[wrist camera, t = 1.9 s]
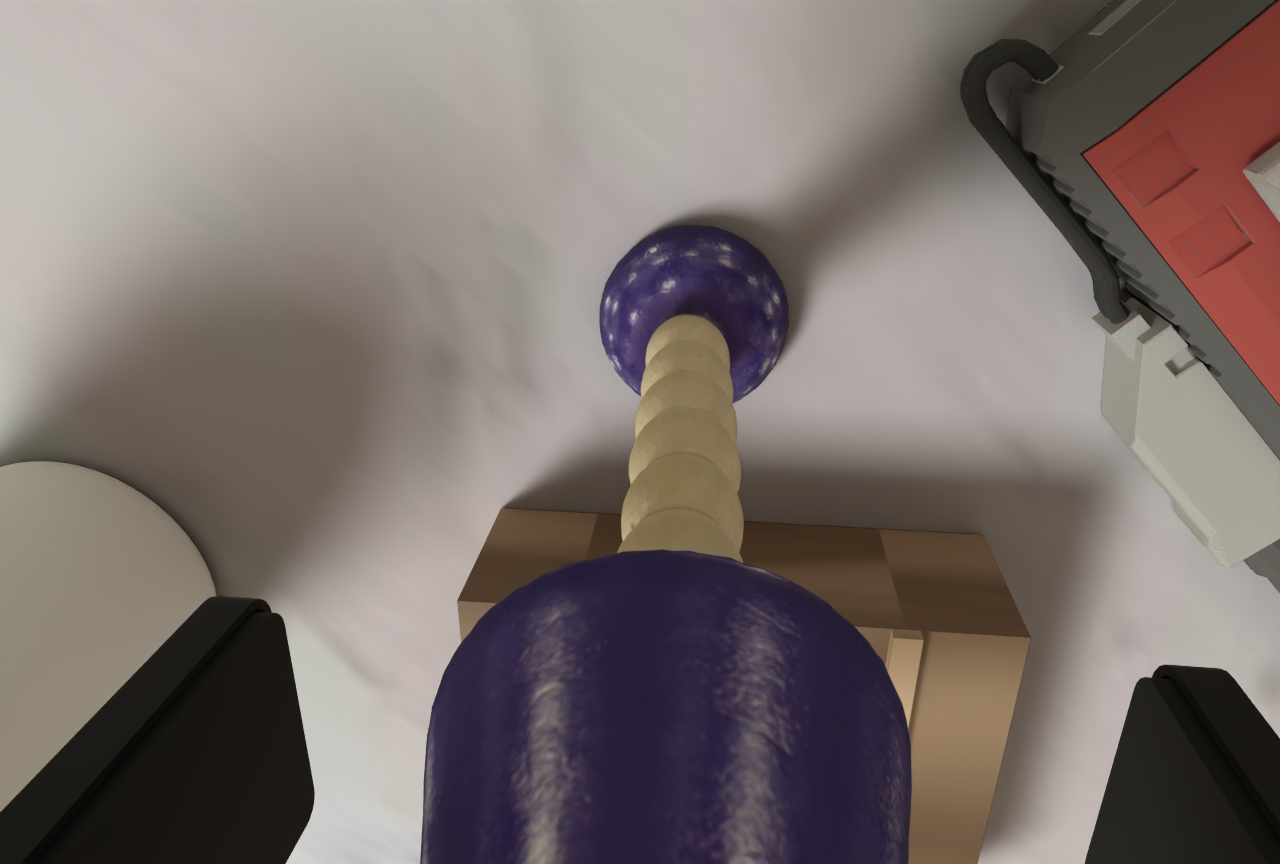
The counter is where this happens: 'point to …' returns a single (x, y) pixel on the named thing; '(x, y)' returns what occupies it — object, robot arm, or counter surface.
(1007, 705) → the tan wooden square frame
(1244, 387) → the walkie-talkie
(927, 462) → the counter surface
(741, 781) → the toy lamp
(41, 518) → the pill bottle
